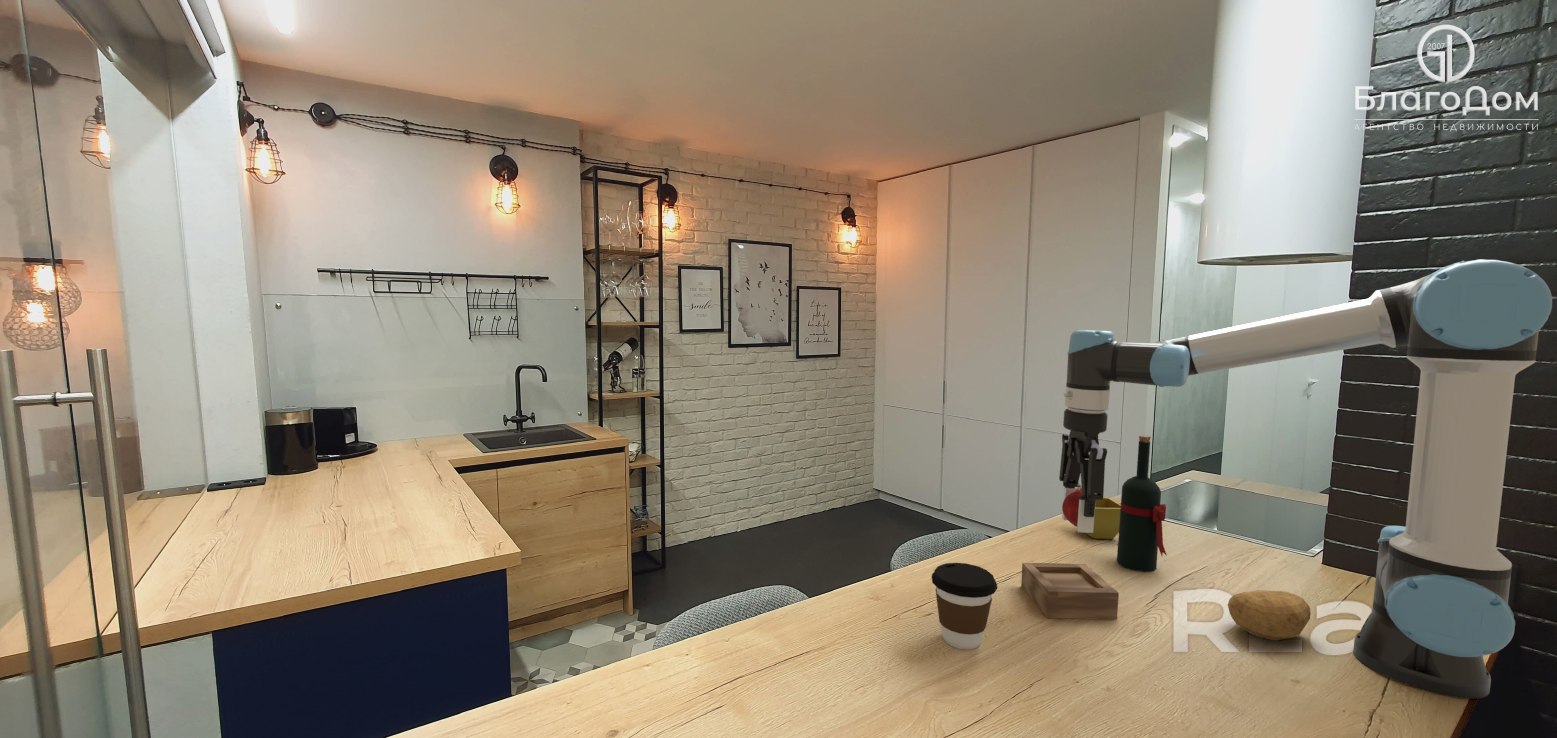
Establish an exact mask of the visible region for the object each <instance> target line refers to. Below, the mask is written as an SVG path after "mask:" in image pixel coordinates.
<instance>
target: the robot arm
mask: <svg viewBox="0 0 1557 738" xmlns="http://www.w3.org/2000/svg"><path fill="white" fill-rule="evenodd" d="M1552 309H1553V297H1552V293H1551V290H1550V287H1549V286H1548V284H1547V283H1546V281H1545V280H1544V279H1543V278H1542V277H1540V276H1539V274H1537V273H1536V272H1535V271H1532V270H1531V269H1529V268H1527V267H1525V266H1523V265H1520V264H1517V263H1515V262H1514V263H1513V262H1510V261H1503V260H1498V259H1482V258H1480V259H1475V260H1462V261H1458V262H1454V263H1452V264H1449V265H1446V266H1443V267H1442V268H1440V269H1437V270H1436V271H1435V272H1432V273H1430V274H1428V275H1426V276H1423V277H1420V278H1418V279H1415V280H1412V281H1409V282H1406V283H1402V284H1398V285H1395V286H1391V287H1386V288H1382V289H1378V290H1377V289H1376V290H1375V291H1374V292H1373V293H1372V294H1371V295H1370V296H1369V297H1368V298H1365V299H1359V300H1355V301H1349V302H1346V303H1340V304H1335V305H1330V306H1326V307H1321V308H1317V309H1311V310H1306V311H1302V312H1297V313H1291V314H1287V315H1282V316H1278V317H1277V316H1276V317H1273V318H1267V319H1262V320H1259V321H1252V322H1249V323H1244V324H1239V325H1233V326H1229V327H1225V328H1219V329H1216V330H1211V331H1206V332H1205V331H1204V332H1201V333H1196V334H1195V333H1194V334H1190V335H1187V336H1181V337H1175V338H1172V339H1165V340H1160V341H1155V342H1148V343H1147V342H1123V341H1117V340H1115V337H1114V336H1115V334H1114V332H1113V331H1110V330H1095V329H1094V330H1093V329H1076V330H1074V331H1073V332H1071V334H1070V336H1069V338H1070V339H1069V345H1068V350H1067V368H1066V385H1065V392H1063V397H1065V398H1064V406H1065V407H1066V409H1064V411H1063V428H1064V429H1066V430H1069V431H1070V432H1069V433H1063V434H1062V435H1061V442H1062V443H1061V445H1062V447H1061V458H1060V465H1059V467H1060V468H1059V478H1058V479H1059V481H1060V482H1062V487H1063V488H1064V489H1063V490H1064V492H1063V502H1064V500H1065V498H1066V497H1067V496H1068V495H1069V494H1071V493H1073V492H1075V491H1076V490H1077V488H1078V487H1082V497H1078V498H1079V511H1078V524H1077V527H1076V532H1077V533H1085V534H1087V533H1093V528H1094V515H1095V502H1096V500H1103V498H1104V495H1105V494H1104V492H1105V469H1106V460H1107V459H1106V458H1107V454H1108V449H1107V448H1106V447H1101V446H1100V441H1099V434H1101V433H1105V432H1106V431H1107V429H1108V428H1107V426H1108V418H1109V417H1108V415H1109V414H1108V413H1107V412H1106V411H1108V410H1109V407H1110V406H1109V404H1110V393H1111V391H1110V389H1111V386H1110V385H1111V382H1115V383H1127V384H1136V385H1137V384H1138V385H1147V386H1149V385H1150V386H1158V387H1160V388H1163V387H1171V388H1172V387H1176V388H1179V387H1182V386H1185V384H1186V383H1187V379H1189V376H1196V375H1200V374H1205V373H1211V372H1218V371H1223V370H1229V369H1235V368H1241V367H1246V366H1254V365H1258V364H1259V365H1260V364H1265V363H1271V362H1277V361H1283V360H1284V361H1285V360H1289V359H1295V358H1301V357H1302V358H1303V357H1308V356H1314V355H1319V354H1320V355H1321V354H1326V353H1331V352H1332V353H1333V352H1338V351H1343V350H1349V349H1356V348H1363V347H1368V346H1374V345H1380V344H1381V345H1385V346H1387V347H1389V348H1393V349H1394V348H1399V347H1401V348H1402V347H1406V346H1407V353H1406V359H1407V360H1409V361H1410V362H1411V363H1413V364H1414V365H1415V366H1417V367H1418V369H1419V370H1420V376H1419V378H1420V379H1419V385H1418V386H1419V388H1418V396H1417V397H1418V398H1417V408H1416V415H1415V416H1416V417H1415V426H1414V438H1413V446H1412V447H1413V448H1412V450H1413V451H1412V460H1411V466H1410V467H1411V468H1410V469H1411V470H1410V480H1409V489H1408V499H1407V510H1406V519H1405V521H1406V522H1405V526H1401V525H1387V526H1384V527H1383V528H1382V529H1381V530H1380V535H1379V538H1378V539H1377V544H1378V552H1377V563H1376V573H1375V582H1374V591H1373V598H1372V599H1373V600H1372V601H1373V602H1372V609H1371V612H1370V614H1369V615H1368V616H1367V618H1366V620H1365V622H1364V623H1363V625H1362V627H1361V629H1360V632H1358V633H1357V634H1356V635H1355V637H1354V641H1353V650H1352V651H1353V654H1354V656H1355V658H1357V659H1358V660H1359V661H1360V662H1361V663H1363V664H1364V665H1365V666H1366V667H1368V668H1370V669H1372V670H1373V671H1375V672H1377V673H1378V674H1380V675H1383V676H1385V677H1387V678H1389V679H1391V680H1394V681H1396V682H1399V683H1402V684H1403V685H1407V686H1408V687H1409V686H1410V687H1413V688H1415V689H1418V690H1421V691H1425V692H1429V693H1432V694H1437V695H1442V696H1446V697H1451V698H1458V699H1467V700H1468V699H1472V700H1473V699H1475V700H1476V699H1477V700H1478V699H1482V698H1485V697H1488V696H1489V694H1490V692H1491V682H1492V678H1491V674H1490V672H1489V670H1488V669H1487V667H1486V665H1485V661H1484V656H1488V655H1491V654H1495V653H1497V652H1499V651H1501V650H1502V649H1504V648H1505V647H1507V645H1508V644H1509V643H1510V642H1511V641H1512V639H1513V637H1514V634H1515V630H1516V629H1515V628H1516V627H1515V626H1516V620H1515V618H1514V617H1515V615H1514V613H1513V611H1512V609H1511V607H1510V605H1509V596H1510V585H1511V578H1512V577H1511V576H1512V568H1513V564H1512V562H1511V561H1510V560H1509V559H1508V558H1507V557H1505V556H1504V555H1503V553H1501V552H1500V551H1499V550H1498V548H1497V543H1498V533H1499V523H1500V515H1501V508H1502V507H1501V506H1502V496H1503V489H1504V488H1503V487H1504V480H1505V472H1506V471H1505V469H1506V460H1507V454H1508V453H1507V452H1508V445H1509V444H1508V442H1509V433H1510V428H1511V427H1510V425H1511V416H1512V406H1513V400H1514V398H1513V397H1514V389H1515V379H1516V375H1517V374H1518V373H1519V372H1521V371H1523V370H1525V369H1526V368H1528V367H1530V366H1531V365H1533V364H1535V363H1536V359H1537V358H1536V357H1537V350H1538V344H1539V343H1538V342H1539V333H1540V330H1541V329H1542V328H1543V327H1544V325H1545V323H1546V322H1547V321H1548V319H1549V316H1550V315H1551V313H1552ZM1079 481H1081V482H1079ZM1063 502H1062V503H1063ZM1061 515H1062V517H1061V518H1062V519H1061V520H1063V521H1068V520H1067V518H1066V517H1065V516H1064V514H1063V513H1062V514H1061Z"/></svg>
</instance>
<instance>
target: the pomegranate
mask: <svg viewBox="0 0 1557 738" xmlns="http://www.w3.org/2000/svg"><path fill="white" fill-rule="evenodd" d="M1076 488H1077V490H1076V491H1075V492H1073V493H1071V494H1069V495H1068V496H1067V497H1066V498H1065V500H1064V499H1063V501H1064V502H1062V506H1061V508H1062V509H1061V510H1062V515H1063V514H1064V516H1065V517H1066V518H1067V520H1066V521H1068V522H1069V523H1070V524H1072V525H1073V526H1074V527H1076V528H1077V524H1078V511H1079V498H1078V497H1082V486H1081V487H1076Z"/></svg>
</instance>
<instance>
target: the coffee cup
mask: <svg viewBox="0 0 1557 738" xmlns="http://www.w3.org/2000/svg"><path fill="white" fill-rule="evenodd" d="M931 582H932V584H933V585H934V586H935V597H936V605H937V614H938V619H939V620H938V621H939V623H940V627H941V630H940V631H941V636H942V638H943V640H944V642H945V643H946V644H948V645H949V646H951V647H952V648H956V649H958V650H974V649H977V648H978V647H979V645H980V644H981V643H982V640H983V636H984V632H985V629H986V628H987V624H988V619H989V614H990V611H991V606H992V600H993V598H992V596H993V595H995V592H997V590H998V584H997V581H996V579H995V577H994V574H992V573H991V572H989V570H987V569H985V568H983V567H981V566H978V565H975V564H970V563H964V562H946V563H943V564H941V565H938V566H937V567H936V568H935V569H934V570H933V572H932V574H931Z"/></svg>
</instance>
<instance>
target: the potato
mask: <svg viewBox="0 0 1557 738" xmlns="http://www.w3.org/2000/svg"><path fill="white" fill-rule="evenodd" d="M1227 608H1228V612H1229V615H1230V617H1231V619H1232V620H1233V621H1234V623H1235V624H1236V625H1237V626H1239V627H1240V628H1241V629H1242V630H1244V631H1246V632H1247V633H1250V634H1251V635H1253V636H1256V637H1258V638H1262V639H1264V640H1271V641H1279V640H1281V641H1282V640H1286V639H1293V638H1296V637H1298V636H1299V635H1300V634H1302V632H1303V630H1305V627H1306V625H1308V623H1309V621H1310V620H1311V614H1312V613H1311V607H1310V605H1309V603H1308V602H1307V601H1306V600H1305V599H1304V598H1303V597H1301V596H1299V595H1297V594H1294V593H1291V592H1290V591H1285V590H1261V589H1260V590H1259V589H1258V590H1252V591H1243V592H1239V593H1236V594H1233V595H1232V596H1231V597H1230V598H1229V601H1228V603H1227Z"/></svg>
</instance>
